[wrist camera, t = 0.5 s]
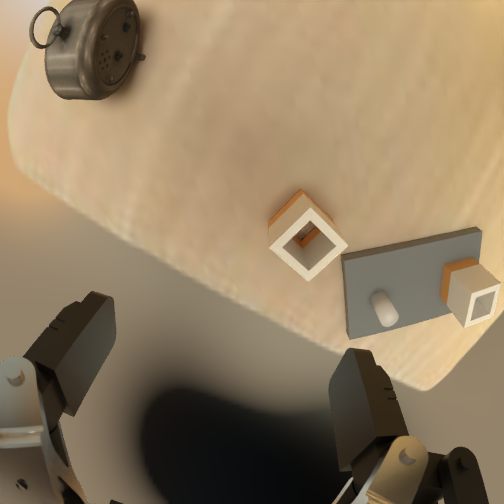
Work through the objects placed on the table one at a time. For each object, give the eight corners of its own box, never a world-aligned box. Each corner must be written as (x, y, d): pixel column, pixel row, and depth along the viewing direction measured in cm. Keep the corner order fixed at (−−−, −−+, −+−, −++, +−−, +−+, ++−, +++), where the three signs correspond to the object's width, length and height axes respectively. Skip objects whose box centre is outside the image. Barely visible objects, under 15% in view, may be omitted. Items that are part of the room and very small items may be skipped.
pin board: (476, 226, 31) (514, 253, 23) (466, 300, 35) (494, 334, 28) (341, 254, 33) (361, 294, 26) (347, 332, 38) (361, 378, 30)
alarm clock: (121, 14, 22) (33, -31, 8) (163, 14, 23) (88, -49, 8) (98, 100, 27) (-8, 103, 12) (138, 103, 27) (38, 101, 12)
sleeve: (300, 189, 30) (310, 207, 24) (332, 220, 32) (348, 245, 25) (268, 221, 32) (268, 247, 26) (300, 250, 33) (308, 281, 27)
